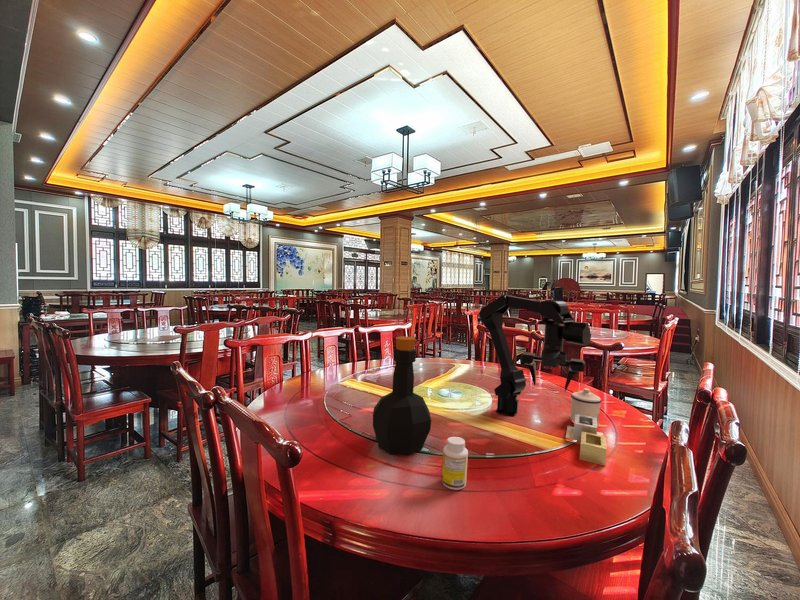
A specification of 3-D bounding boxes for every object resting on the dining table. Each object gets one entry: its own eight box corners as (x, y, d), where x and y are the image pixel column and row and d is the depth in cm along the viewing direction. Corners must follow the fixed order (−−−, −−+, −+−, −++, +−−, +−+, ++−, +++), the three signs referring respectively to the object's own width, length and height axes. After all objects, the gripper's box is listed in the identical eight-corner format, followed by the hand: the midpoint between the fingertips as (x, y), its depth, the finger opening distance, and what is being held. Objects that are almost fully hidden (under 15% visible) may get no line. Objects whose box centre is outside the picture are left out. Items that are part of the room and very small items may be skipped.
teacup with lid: (604, 428, 119) (607, 394, 118) (576, 427, 119) (579, 392, 118) (586, 415, 131) (589, 383, 130) (561, 413, 131) (563, 381, 130)
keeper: (565, 440, 108) (566, 423, 108) (567, 429, 117) (568, 413, 117) (603, 449, 104) (605, 431, 103) (602, 436, 113) (604, 420, 112)
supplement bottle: (449, 474, 86) (452, 432, 86) (470, 484, 83) (473, 440, 82) (436, 484, 82) (439, 440, 82) (457, 494, 79) (460, 448, 78)
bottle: (363, 436, 105) (368, 333, 103) (416, 430, 110) (421, 332, 109) (380, 463, 90) (386, 343, 88) (439, 455, 96) (446, 342, 94)
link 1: (596, 443, 105) (597, 428, 105) (573, 438, 108) (574, 423, 107) (595, 432, 113) (596, 418, 113) (574, 427, 116) (575, 413, 115)
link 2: (605, 465, 94) (606, 449, 94) (579, 459, 97) (580, 443, 97) (603, 451, 102) (605, 436, 102) (580, 446, 105) (581, 431, 105)
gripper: (519, 339, 113) (515, 388, 114) (586, 347, 105) (581, 400, 106) (524, 335, 123) (521, 380, 124) (586, 342, 115) (582, 390, 116)
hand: (549, 387), depth 117 cm, fingers open, 9 cm apart
